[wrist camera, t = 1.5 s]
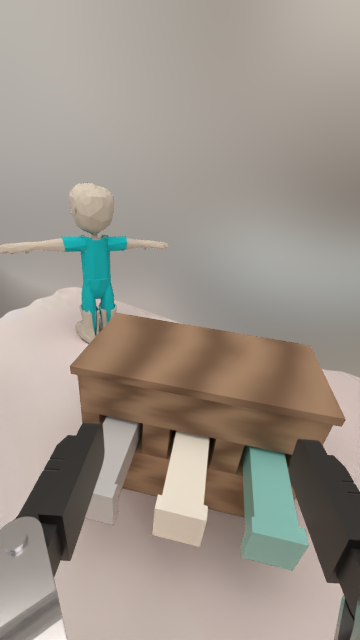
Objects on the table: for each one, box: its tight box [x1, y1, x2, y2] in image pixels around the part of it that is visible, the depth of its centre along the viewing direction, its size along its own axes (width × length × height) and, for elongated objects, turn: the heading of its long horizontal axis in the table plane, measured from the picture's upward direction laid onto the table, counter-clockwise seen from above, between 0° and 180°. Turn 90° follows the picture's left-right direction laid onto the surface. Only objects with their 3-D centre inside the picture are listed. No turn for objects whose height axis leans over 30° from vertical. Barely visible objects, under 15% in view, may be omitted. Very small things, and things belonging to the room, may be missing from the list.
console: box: [70, 313, 346, 517], centre depth 31 cm, size 23×11×17 cm, turn 80°
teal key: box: [241, 445, 309, 570], centre depth 23 cm, size 4×9×4 cm, turn 170°
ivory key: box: [152, 431, 209, 547], centre depth 24 cm, size 4×9×4 cm, turn 170°
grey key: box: [85, 416, 142, 525], centre depth 25 cm, size 4×9×4 cm, turn 170°
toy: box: [0, 183, 169, 344], centre depth 53 cm, size 30×9×30 cm, turn 118°
